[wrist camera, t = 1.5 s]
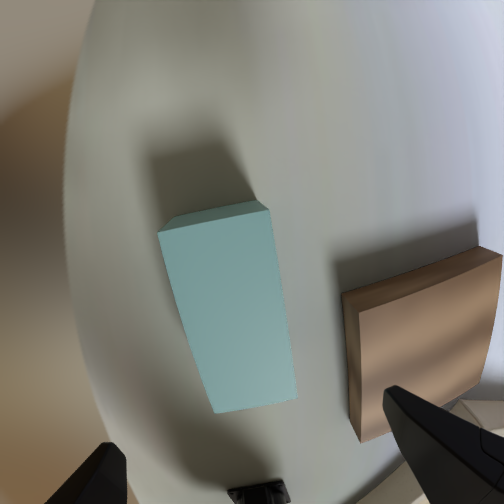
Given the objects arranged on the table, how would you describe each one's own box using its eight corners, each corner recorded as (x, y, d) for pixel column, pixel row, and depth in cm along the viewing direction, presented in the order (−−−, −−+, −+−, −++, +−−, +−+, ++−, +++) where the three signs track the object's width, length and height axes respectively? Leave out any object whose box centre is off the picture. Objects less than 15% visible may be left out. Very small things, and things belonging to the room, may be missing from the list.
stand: (463, 368, 24) (478, 383, 21) (349, 421, 23) (360, 443, 20) (479, 245, 20) (502, 255, 17) (341, 293, 20) (358, 312, 17)
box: (411, 505, 37) (516, 396, 30) (422, 529, 29) (539, 419, 22) (324, 520, 33) (455, 393, 26) (333, 553, 25) (488, 432, 19)
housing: (282, 352, 21) (297, 398, 16) (215, 365, 20) (214, 413, 16) (256, 199, 18) (269, 209, 13) (174, 216, 17) (157, 232, 13)
